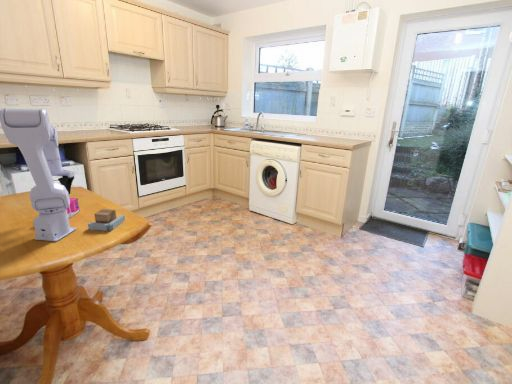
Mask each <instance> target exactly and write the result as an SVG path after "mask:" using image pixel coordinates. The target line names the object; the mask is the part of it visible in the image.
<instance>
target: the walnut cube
mask: <svg viewBox="0 0 512 384" xmlns="http://www.w3.org/2000/svg"><path fill="white" fill-rule="evenodd" d="M93 214H94V215H93V216H94V221H95V223H108V224H109V223H110V222H112V221H113V220H114V219H116V218H117V212H116V209H112V208H111V209H110V208H102V209H100V210H98V211H97V212H95V213H93Z"/></svg>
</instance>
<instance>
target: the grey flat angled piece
mask: <svg viewBox="0 0 512 384" xmlns="http://www.w3.org/2000/svg"><path fill="white" fill-rule="evenodd" d="M124 220H125V221H126V216H125V215H124V214H119V216H116V219H114V220H113V221H112V222H110V223H109V224H108V223H96V221H95V222H93V221H90V222H89V223H87V228H88V230H92V231H105V232H112V231H113V230H114V229H116V228H117V227H119V225H121V224H123V223H124V222H125V221H124ZM123 221H124V222H123Z"/></svg>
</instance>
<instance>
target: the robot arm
mask: <svg viewBox="0 0 512 384" xmlns="http://www.w3.org/2000/svg"><path fill="white" fill-rule="evenodd" d="M0 127H1V129H2V131H3V134H4V136H5V138H6V139H7V140H8V142H9V144H12V145H14V146H16V147H18V149H19V150H20V153H21V154H22V157H23V158H24V161H25V163H26V165H27V168H28V170H29V173H30V175H31V177H32V180H33V182H34V184H35V185H34V186H33V187H32V188H30V191H29V200H30V203H31V207H32V209H33V210H34V211H35V212H38V215H37V216H36V217H34V219H33V222H32V223H33V227H34V232H35V236H36V237H34V239H35V240H37V241H46V242H47V241H50V242H57V241H60V240H61V239H63V238H64V237H66V236H68V235H69V234H71V233H73V232H74V231H77V227H72V226H70V221H69V219H68V215H67V210H66V208H67V207H69V205H70V195H71V191H72V190H71V188H72V184H73V181H74V180H75V172H74V170H68V169H67V170H66V169H64V168H63V165H62V159H61V155H60V150H59V136H58V130H57V128H56V127H55V126H53V125H51V123H50V117H49V115H48V112H47V110H45V109H44V108H39V109H38V108H36V109H35V108H32V109H31V108H5V107H2V108H1V109H0ZM54 177H59V178H57V180H58V182H59V183H57V182H55V181H54Z"/></svg>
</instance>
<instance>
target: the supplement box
mask: <svg viewBox="0 0 512 384" xmlns="http://www.w3.org/2000/svg"><path fill="white" fill-rule="evenodd" d="M69 198H70V197H69ZM66 210H67V215H68V220H69V219H70V218H72V217H73V216H75V215H76V214H78V213H79V212H80V211H81V210H80V206H79V198H72V197H71V198H70V205H69V207H67V208H66Z"/></svg>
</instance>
